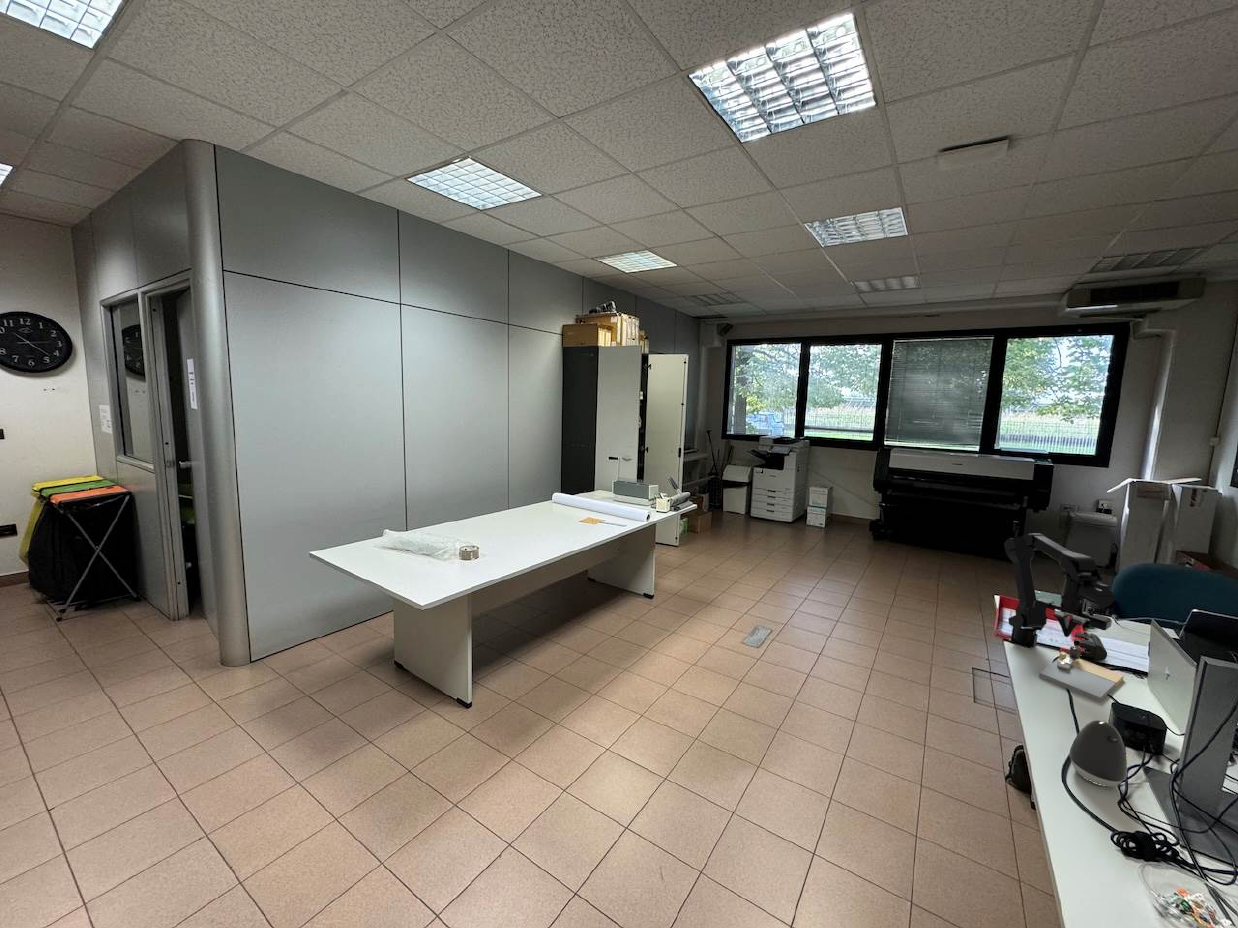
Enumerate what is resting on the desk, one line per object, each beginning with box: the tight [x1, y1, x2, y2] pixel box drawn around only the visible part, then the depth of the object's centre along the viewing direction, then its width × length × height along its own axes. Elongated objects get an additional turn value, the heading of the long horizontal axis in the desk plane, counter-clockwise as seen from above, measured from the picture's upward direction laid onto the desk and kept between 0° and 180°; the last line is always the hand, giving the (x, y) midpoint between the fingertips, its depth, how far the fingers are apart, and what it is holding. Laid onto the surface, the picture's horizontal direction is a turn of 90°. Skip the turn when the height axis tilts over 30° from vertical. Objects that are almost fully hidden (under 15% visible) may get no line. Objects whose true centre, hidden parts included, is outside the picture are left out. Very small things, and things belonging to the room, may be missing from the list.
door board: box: [1038, 651, 1125, 703], centre depth 162 cm, size 15×22×4 cm
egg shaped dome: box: [1069, 720, 1128, 788], centre depth 121 cm, size 10×10×15 cm
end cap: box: [1073, 632, 1108, 663], centre depth 175 cm, size 10×7×7 cm
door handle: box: [1057, 645, 1081, 670], centre depth 167 cm, size 12×3×4 cm, turn 120°
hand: (1066, 636), depth 166 cm, fingers closed
